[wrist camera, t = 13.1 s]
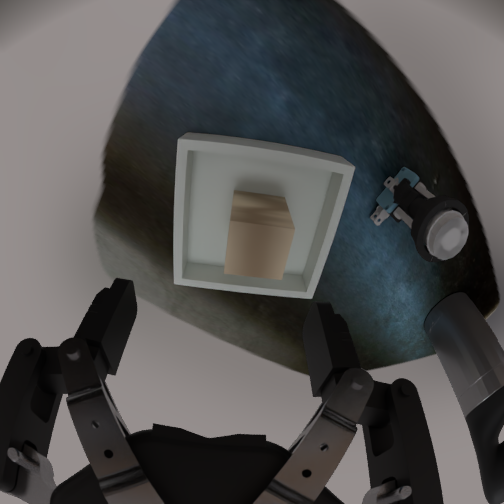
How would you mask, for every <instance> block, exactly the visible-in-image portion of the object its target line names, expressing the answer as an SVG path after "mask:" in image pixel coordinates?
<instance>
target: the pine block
mask: <svg viewBox="0 0 504 504" xmlns="http://www.w3.org/2000/svg"><path fill="white" fill-rule="evenodd" d="M294 232H295V227H294V224H293V221H292V218H291V215H290V212H289V209H288V205H287V202H286V199H285V197H280V196H274V195H267V194H260V193H253V192H245V191H238V190H234V194H233V201H232V208H231V216H230V224H229V231H228V240H227V248H226V257H225V266H224V274H231V275H240V276H249V277H258V278H267V279H277V280H282V277H283V273H284V270H285V266H286V262H287V259H288V255H289V251H290V247H291V244H292V240H293V236H294Z"/></svg>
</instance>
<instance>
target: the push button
mask: <svg viewBox="0 0 504 504" xmlns="http://www.w3.org/2000/svg"><path fill="white" fill-rule="evenodd" d="M389 180H391V182H390V183H389V184H387V182H388V181H389ZM384 185H385V186H386V188H385V189H384V191H383V192H382V193H381V194H380V195H379V196H378V197H377V199H376V201H377V202H378V203H379V206H378V207H377V208H376V209H377V210H376V211H375V212H374V213H373V214H372V215H371V217H370V218H371V219H372V220H373V221H374V223H375V224H376V225H377V226H379V225H380V224H381V223H382V221H383V220H384V219H385V218H386V219H387V218H388V217H389V215H391V216H392V217H393V218H394V219H395V220H396V221H397V222H400V221H401V220H403V221H404V222H405V223H406V224H407V225H408V226H409V227H410V228H411V236H412V238H413V240H414V241H415V246H416V249H417V251H418V253H419V254H420V256H421V257H422V258H423V259H425V260H426V261H429V262H438V261H442V260H446V259H449V258H452V257H454V256H455V255H456V254H457V253H458V252H460V250H461V249H462V247H463V246H464V244H465V243H466V240H467V236H468V225H469V216H468V212H467V209H466V207H465V206H464V205H463V204H462V203H461V202H460V201H458V200H456V199H454V198H449V197H447V196H446V195H443V196H438V197H435V196H434V195H433V194H431V193H430V192H429V191H427V187H426V185H425V184H424V183H423V182H422V181H421V179H420V178H419V177H418V176H417V175H416V174H415V173H414V172H412V171H411V170H409V169H408V168H406V167H403V168H402V169H401V170H400V172H399V173H398V174H397V175H396V176H395V178H394V179H393V178H392V177H388V179H387V180H386V181H385V182H384ZM423 197H424V198H425V199H426V200H427V201H426V200H425V199H424V198H423ZM449 207H452V209H453V210H452V209H451V208H449ZM375 214H376V215H377V217H376V218H374V215H375ZM407 214H408V215H409V216H411V217H412V218H413V219H414V220H412V219H411V218H410V217H409V216H408V215H407ZM379 218H380V219H381V221H380V222H377V220H378V219H379ZM423 242H424V243H425V244H426V245H424V243H423Z"/></svg>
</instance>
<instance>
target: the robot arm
mask: <svg viewBox="0 0 504 504" xmlns="http://www.w3.org/2000/svg"><path fill="white" fill-rule="evenodd" d="M136 315H137V302H136V296H135V290H134V284H133V281H132V280H126V279H120V278H116V279H115V280H114V282H113V284H112V286H111V287H110V289H109V288H104V289H103V290H101V291H100V292H99V293H98V294H97V295H96V297H95V298H94V300H93V302H92V305H90V307H89V309H88V312H87V313H86V315H85V317H84V318H83V320H82V322H81V324H80V326H79V328H78V330H77V332H76V334H75V336H74V337H73V338H69V339H66V340H65V341H63V342H62V343H61V344H60V346H59V347H42V346H41V345H40V343H39V342H38V341H37V340H36V339H33V338H27V339H24V340H22V341H21V342H20V343H19V344H18V345H17V347H16V349H15V351H14V353H13V355H12V357H11V359H10V361H9V364H8V366H7V369H6V371H5V373H4V375H3V378H2V380H1V382H0V491H2V492H5V493H7V494H10V495H12V496H15V497H18V498H20V499H22V500H23V501H25V502H27V503H29V504H344V503H343V502H342V501H341V500H339V499H338V498H337V497H336V496H335V495H334V494H333V493H332V492H331V491H330V490H329V489H327V488H326V487H325V485H326V484H327V482H328V480H329V479H330V477H331V476H332V474H333V473H334V471H335V469H336V468H337V466H338V464H339V463H340V461H341V459H342V457H343V456H344V454H345V452H346V451H347V449H348V447H349V445H350V443H351V442H352V440H353V438H354V436H355V434H356V432H357V427H356V424H361V425H362V426H363V433H364V439H365V446H366V453H367V460H368V468H369V477H370V486H371V489H370V490H369V491H368V492H367V493H366V494H365V496H364V498H363V502H362V504H444V503H443V497H442V490H441V484H440V478H439V473H438V468H437V463H436V458H435V453H434V449H433V445H432V441H431V437H430V433H429V429H428V425H427V421H426V418H425V414H424V411H423V407H422V404H421V401H420V397H419V395H418V392H417V388H416V387H415V385H414V384H413V383H412V382H411V381H409V380H407V379H404V378H400V379H397V380H395V381H394V382H393V383H392V384H387V383H382V382H378V381H374V380H373V378H372V377H371V375H370V374H369V373H368V372H367V371H365V370H364V369H361V366H360V363H359V359H358V356H357V353H356V350H355V347H354V344H353V341H352V338H351V335H350V333H349V329H348V326H347V323H346V321H345V320H344V319H343V318H342V317H341V315H340V314H334V311H333V308H332V305H331V303H330V302H318V301H314V302H313V303H312V305H311V307H310V310H309V313H308V315H307V318H306V320H305V323H304V326H303V341H304V346H305V352H306V358H307V363H308V369H309V375H310V381H311V387H312V393H313V397H322V403H321V405H320V406H319V408H318V409H317V411H316V412H315V414H314V415H313V417H312V418H311V420H310V421H309V423H308V424H307V426H306V427H305V428H304V430H303V431H302V433H301V434H300V435H299V437H298V438H297V439H296V440H295V442H294V443H293V444H292V445H291V447H290V448H289V449H288V450H286V449H285V448H283V447H281V446H279V445H277V444H275V443H271V442H269V441H266V435H249V434H235V435H230V436H223V437H216V438H206V437H203V436H200V435H197V434H195V433H192V432H189V431H186V430H184V429H181V428H176V427H170V426H165V425H159V424H153V428H152V429H150V430H142V431H139V432H136V433H133V434H130V432H129V430H128V428H127V426H126V424H125V423H124V421H123V419H122V417H121V415H120V414H119V411H118V409H117V407H116V405H115V403H114V400H113V398H112V396H111V394H110V391H109V389H108V387H107V384H106V382H105V379H106V376H107V374H111V375H116V372H117V369H118V366H119V363H120V360H121V357H122V354H123V351H124V349H125V346H126V343H127V340H128V337H129V335H130V332H131V329H132V326H133V324H134V321H135V319H136ZM424 330H425V332H426V333H427V335H428V337H429V339H430V341H431V343H432V345H433V347H434V349H435V351H436V353H437V355H438V357H439V359H440V361H441V363H442V366H443V368H444V370H445V372H446V374H447V376H448V378H449V381H450V383H451V385H452V388H453V390H454V392H455V395H456V397H457V399H458V402H459V404H460V406H461V409H462V411H463V414H464V417H465V418H466V422H467V425H468V428H469V431H470V435H471V438H472V441H473V445H474V448H475V451H476V455H477V459H478V464H479V469H480V475H481V480H482V486H483V490H484V494H485V497H486V499H487V501H488V503H489V504H501V503H503V502H504V441H503V442H502V443H500V444H499V442H498V437H499V433H500V431H501V429H502V427H503V425H504V350H503V349H502V347H501V345H500V344H499V342H498V339H497V337H496V336H495V334H494V333H493V331H492V329H491V328H490V326H489V325H488V323H487V322H486V320H485V319H484V317H483V316H482V314H481V313H480V311H479V310H478V309H477V307H476V306H475V304H474V303H473V302H472V300H470V299H469V297H468V296H467V295H466V294H465V293H463V292H458V293H454V294H452V295H450V296H448V297H446V298H445V299H443V300H442V301H441V302H439V303H438V304H437V305H436V306H435V307H434V308H433V309H432V311H431V312H430V313H429V315H428V316H427V318H426V321H425V323H424ZM63 394H68V397H67V398H66V402H67V406H68V409H69V411H70V415H71V418H72V420H73V423H74V426H75V429H76V431H77V434H78V437H79V439H80V441H81V444H82V446H83V448H84V451H85V453H86V456H87V458H88V460H89V462H90V464H89V465H87V466H86V467H84V468H83V469H82V470H80V471H79V472H77V473H76V474H74V475H73V476H71V477H70V478H68V479H67V480H65V481H64V482H63V483H61V484H60V485H58V486H56V484H55V482H54V479H53V476H54V473H53V468H52V465H51V463H50V462H49V460H48V459H47V454H48V449H49V444H50V440H51V436H52V431H53V427H54V423H55V419H56V416H57V412H58V409H59V405H60V402H61V398H62V395H63Z"/></svg>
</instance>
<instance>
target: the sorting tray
mask: <svg viewBox="0 0 504 504" xmlns="http://www.w3.org/2000/svg"><path fill="white" fill-rule="evenodd" d="M354 170H355V166H353V165H352V164H351V163H350V162H348V161H347V160H346V159H344V158H343V157H342V156H338V155H334V154H329V153H325V152H320V151H316V150H311V149H306V148H301V147H296V146H291V145H285V144H280V143H274V142H268V141H261V140H254V139H247V138H240V137H232V136H224V135H214V134H204V133H192V132H187V133H186V134H184V135H183V136H182V137H180V138H179V139H178V146H177V160H176V176H175V198H174V284H178V285H185V286H193V287H201V288H209V289H217V290H226V291H235V292H244V293H253V294H263V295H273V296H284V297H295V298H307V299H312V297H313V294H314V292H315V289H316V287H317V284H318V281H319V278H320V276H321V273H322V270H323V267H324V265H325V262H326V259H327V256H328V253H329V250H330V247H331V245H332V242H333V239H334V236H335V233H336V230H337V226H338V223H339V220H340V217H341V214H342V211H343V208H344V204H345V201H346V198H347V194H348V191H349V188H350V184H351V181H352V177H353V174H354ZM234 190H238V191H245V192H253V193H260V194H267V195H274V196H280V197H285V199H286V202H287V205H288V209H289V212H290V215H291V218H292V221H293V224H294V227H295V232H294V236H293V240H292V244H291V247H290V251H289V255H288V259H287V262H286V266H285V270H284V273H283V277H282V280H277V279H267V278H258V277H249V276H240V275H231V274H224V266H225V257H226V248H227V240H228V231H229V224H230V216H231V208H232V201H233V194H234Z"/></svg>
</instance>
